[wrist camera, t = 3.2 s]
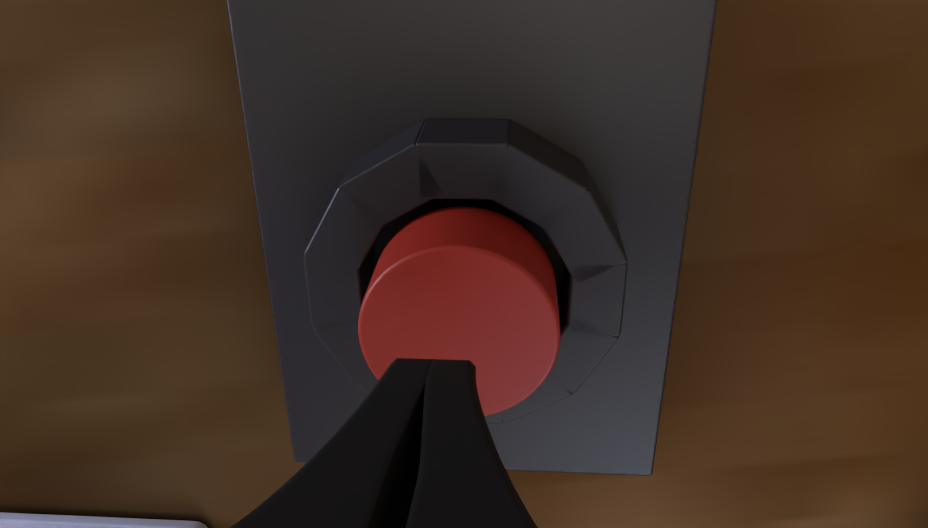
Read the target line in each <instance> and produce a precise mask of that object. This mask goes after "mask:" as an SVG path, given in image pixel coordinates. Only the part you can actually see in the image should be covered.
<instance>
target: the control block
mask: <svg viewBox="0 0 928 528" xmlns="http://www.w3.org/2000/svg"><path fill="white" fill-rule="evenodd" d="M717 1H718V0H227V6H228V12H229V19H230V26H231V33H232V40H233V46H234V53H235V60H236V67H237V74H238V80H239V87H240V94H241V101H242V108H243V114H244V121H245V128H246V135H247V142H248V148H249V155H250V162H251V169H252V176H253V182H254V189H255V196H256V203H257V210H258V216H259V223H260V230H261V237H262V244H263V250H264V257H265V264H266V271H267V278H268V284H269V291H270V298H271V305H272V312H273V318H274V325H275V332H276V339H277V346H278V352H279V359H280V366H281V373H282V380H283V386H284V393H285V400H286V407H287V414H288V420H289V427H290V434H291V441H292V448H293V454H294V460H295V461H296V462H308V461H309V460H310V459H311V458H312V457H313V456H314V455H315V454H316V453H317V452H318V451H319V450H320V449H321V448H322V447H323V445H324V444H325V443H326V442H327V441H328V440H329V439H330V438H331V437H332V436H333V435H334V434H335V433H336V432H337V431H338V429H339V428H340V427H341V426H342V425H343V424H344V422H345V421H346V420H347V419H348V418H349V417H350V415H351V414H352V413H353V412H354V411H355V409H356V408H357V407H358V406H359V405H360V404H361V402H362V401H363V400H364V398H365V397H366V396H367V395H368V393H369V392H370V391H371V390H372V388H373V387H374V386H375V384H376V383H377V382H378V379H377V378H376V377H375V375H374V374H373V372H372V371H371V369H370V368H369V366H368V364H367V362H366V360H365V358H364V355H363V352H362V349H361V346H360V341H359V335H358V319H359V312H360V308H361V305H362V302H363V299H364V296H365V293H366V291H367V288H368V286H369V283H370V281H371V278H372V275H373V273H374V270H375V268H376V265H377V262H378V260H379V257H380V255H381V253H382V251H383V249H384V247H385V246H386V244H387V243H388V241H389V240H390V239H391V238H392V236H393V235H394V234H395V233H396V232H397V231H398V230H399V229H400V228H402V227H403V226H404V225H405V224H407V223H408V222H410V221H411V220H413V219H415V218H416V217H418V216H421V215H423V214H425V213H427V212H431V211H434V210H437V209H442V208H448V207H461V206H465V207H477V208H482V209H487V210H491V211H494V212H497V213H500V214H502V215H504V216H506V217H508V218H510V219H512V220H514V221H515V222H517V223H519V224H520V225H522V226H523V227H524V228H525V229H526V230H528V231H529V232H530V233H531V234H532V235H533V236H534V237H535V238H536V239H537V240H538V241H539V243H540V244H541V246H542V247H543V249H544V250H545V251H546V253H547V255H548V257H549V259H550V261H551V264H552V267H553V271H554V275H555V281H556V290H557V300H558V310H559V320H560V345H559V351H558V355H557V358H556V361H555V363H554V365H553V368H552V370H551V372H550V373H549V375H548V376H547V378H546V379H545V381H544V382H543V383H542V384H541V385H540V386H539V387H538V389H537V390H536V391H535V392H533V393H532V394H531V395H530V396H529V397H528V398H526V399H525V400H523V401H522V402H520V403H519V404H517V405H515V406H513V407H511V408H509V409H507V410H504V411H501V412H499V413H496V414H492V415H488V416H484V417H485V420H486V423H487V426H488V428H489V431H490V434H491V436H492V439H493V442H494V444H495V447H496V449H497V452H498V454H499V456H500V459H501V461H502V463H503V465H504V467H505V469H506V470H518V471H544V472H570V473H596V474H621V475H647V476H650V475H651V474H652V471H653V464H654V457H655V450H656V442H657V435H658V428H659V421H660V413H661V406H662V399H663V392H664V384H665V377H666V370H667V363H668V355H669V348H670V341H671V334H672V326H673V319H674V312H675V305H676V297H677V290H678V283H679V276H680V269H681V261H682V254H683V247H684V240H685V232H686V225H687V218H688V211H689V203H690V196H691V189H692V182H693V174H694V167H695V160H696V153H697V145H698V138H699V131H700V124H701V117H702V109H703V102H704V95H705V88H706V80H707V73H708V66H709V59H710V51H711V44H712V37H713V30H714V22H715V15H716V8H717Z"/></svg>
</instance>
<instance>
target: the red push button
mask: <svg viewBox="0 0 928 528" xmlns="http://www.w3.org/2000/svg"><path fill="white" fill-rule="evenodd" d="M358 335H359V341H360V346H361V349H362V352H363V355H364V358H365V360H366V362H367V364H368V366H369V368H370V369H371V371H372V372H373V374H374V375H375V377H376V378H377V379H378V380H379V379H380V378H381V376H382V375H383V374H384V372H385V371H386V369H387V368H388V367H389V365H390V364H391V363H392V362H393V361H394V360H395V359H397V358H412V359H447V360H470V361H471V362H472V363H473V364H474V365H475V366H476V385H477V390H478V395H479V399H480V403H481V407H482V411H483V414H484V416H488V415H492V414H496V413H499V412H501V411H504V410H507V409H509V408H511V407H513V406H515V405H517V404H519V403H520V402H522V401H523V400H525V399H526V398H528V397H529V396H530V395H531V394H532V393H533V392H535V391H536V390H537V389H538V387H539V386H540V385H541V384H542V383H543V382H544V381H545V379H546V378H547V376H548V375H549V373H550V372H551V370H552V368H553V365H554V363H555V361H556V358H557V355H558V351H559V345H560V320H559V310H558V300H557V290H556V281H555V275H554V271H553V267H552V264H551V261H550V259H549V257H548V255H547V253H546V251H545V250H544V249H543V247H542V246H541V244H540V243H539V241H538V240H537V239H536V238H535V237H534V236H533V235H532V234H531V233H530V232H529V231H528V230H526V229H525V228H524V227H523V226H522V225H520V224H519V223H517V222H515V221H514V220H512V219H510V218H508V217H506V216H504V215H502V214H500V213H497V212H494V211H491V210H487V209H482V208H477V207H465V206H461V207H448V208H442V209H437V210H434V211H431V212H427V213H425V214H423V215H421V216H418V217H416V218H415V219H413V220H411V221H410V222H408V223H407V224H405V225H404V226H403V227H402V228H400V229H399V230H398V231H397V232H396V233H395V234H394V235H393V236H392V238H391V239H390V240H389V241H388V243H387V244H386V246H385V247H384V249H383V251H382V253H381V255H380V257H379V260H378V262H377V265H376V268H375V270H374V273H373V275H372V278H371V281H370V283H369V286H368V288H367V291H366V293H365V296H364V299H363V302H362V305H361V308H360V312H359V319H358Z"/></svg>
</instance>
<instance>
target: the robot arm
mask: <svg viewBox="0 0 928 528" xmlns="http://www.w3.org/2000/svg"><path fill="white" fill-rule="evenodd" d="M0 528H208V527H207V526H206V525H205V524H203V523H201V522H198V521H185V520H162V519H140V518H117V517H94V516H72V515H49V514H27V513H4V512H0ZM231 528H537V526H536V524H535V523H534V521H533V520H532V518H531V516H530V515H529V513H528V511H527V509H526V508H525V506H524V504H523V503H522V501H521V499H520V497H519V495H518V493H517V492H516V490H515V488H514V486H513V484H512V482H511V480H510V478H509V476H508V474H507V471H506V469H505V467H504V465H503V463H502V461H501V459H500V456H499V454H498V452H497V449H496V447H495V444H494V442H493V439H492V436H491V434H490V431H489V428H488V426H487V423H486V420H485V417H484V414H483V411H482V407H481V403H480V399H479V395H478V390H477V385H476V366H475V365H474V364H473V363H472V362H471V361H470V360H447V359H412V358H397V359H395V360H394V361H393V362H392V363H391V364H390V365H389V367H388V368H387V369H386V371H385V372H384V374H383V375H382V376H381V378H380V379H379V380H378V382H377V383H376V384H375V386H374V387H373V388H372V390H371V391H370V392H369V393H368V395H367V396H366V397H365V398H364V400H363V401H362V402H361V404H360V405H359V406H358V407H357V408H356V409H355V411H354V412H353V413H352V414H351V415H350V417H349V418H348V419H347V420H346V421H345V422H344V424H343V425H342V426H341V427H340V428H339V429H338V431H337V432H336V433H335V434H334V435H333V436H332V437H331V438H330V439H329V440H328V441H327V442H326V443H325V444H324V445H323V447H322V448H321V449H320V450H319V451H318V452H317V453H316V454H315V455H314V456H313V457H312V458H311V459H310V460H309V461H308V462H307V463H306V464H305V465H304V466H303V467H302V468H301V469H300V470H299V471H298V472H297V473H296V474H295V475H294V476H293V477H291V478H290V479H289V480H288V481H287V482H286V483H285V484H284V485H283V486H282V487H281V488H279V489H278V490H277V491H276V492H275V493H274V494H272V495H271V496H270V497H269V498H268V499H267V500H265V501H264V502H263V503H262V504H261V505H260V506H258V507H257V508H256V509H255V510H253V511H252V512H251V513H249V514H248V515H247V516H246V517H244V518H243V519H242V520H240V521H239V522H238V523H236V524H235V525H233V526H232V527H231Z"/></svg>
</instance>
